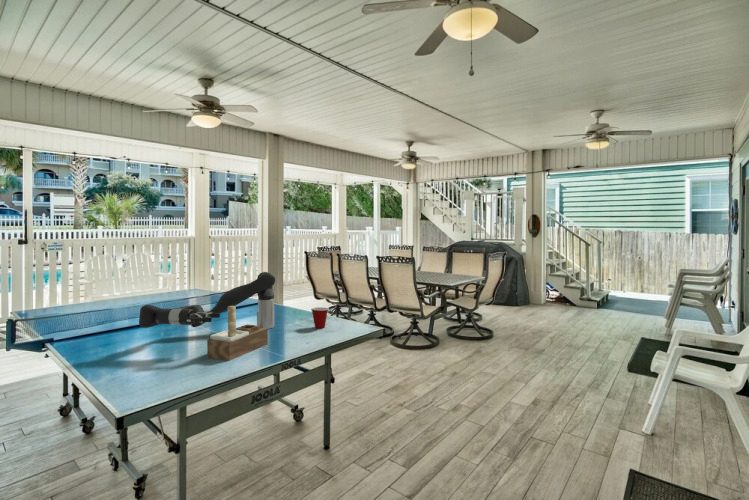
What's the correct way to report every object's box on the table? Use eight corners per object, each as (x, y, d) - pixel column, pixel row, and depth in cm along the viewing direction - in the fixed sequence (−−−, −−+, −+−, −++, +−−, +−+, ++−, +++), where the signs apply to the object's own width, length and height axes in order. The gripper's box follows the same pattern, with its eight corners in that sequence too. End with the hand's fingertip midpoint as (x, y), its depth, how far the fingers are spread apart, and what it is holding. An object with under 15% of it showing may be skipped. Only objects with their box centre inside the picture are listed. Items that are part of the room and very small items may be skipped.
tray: (210, 339, 179) (210, 335, 179) (229, 332, 190) (229, 329, 190) (230, 342, 175) (230, 338, 175) (248, 335, 186) (248, 331, 186)
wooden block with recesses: (207, 357, 178) (207, 335, 178) (247, 341, 203) (247, 322, 203) (229, 360, 173) (229, 338, 173) (267, 344, 198) (267, 324, 198)
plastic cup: (332, 326, 235) (332, 306, 235) (322, 330, 225) (322, 310, 225) (317, 324, 240) (317, 305, 239) (307, 328, 230) (307, 308, 229)
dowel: (226, 336, 182) (225, 306, 181) (232, 334, 185) (231, 305, 184) (232, 337, 180) (231, 307, 179) (237, 335, 183) (237, 306, 183)
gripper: (190, 321, 190) (222, 321, 189) (173, 328, 175) (208, 329, 175) (189, 305, 189) (222, 306, 188) (173, 312, 175) (208, 312, 174)
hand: (215, 317), depth 181 cm, fingers open, 8 cm apart
